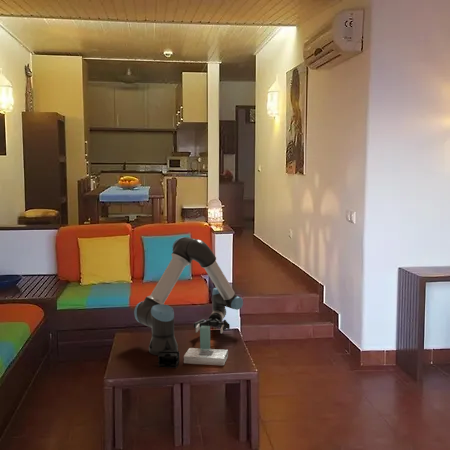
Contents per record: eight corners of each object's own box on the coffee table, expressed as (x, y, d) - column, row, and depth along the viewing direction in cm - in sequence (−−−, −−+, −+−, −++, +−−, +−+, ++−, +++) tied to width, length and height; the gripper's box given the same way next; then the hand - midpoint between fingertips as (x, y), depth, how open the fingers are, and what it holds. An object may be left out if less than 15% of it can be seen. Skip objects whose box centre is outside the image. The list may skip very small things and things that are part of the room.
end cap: (179, 362, 281) (179, 349, 280) (178, 368, 274) (177, 354, 273) (159, 362, 282) (159, 349, 281) (157, 367, 275) (157, 354, 274)
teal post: (200, 350, 297) (199, 328, 296) (202, 347, 302) (201, 325, 300) (208, 350, 297) (208, 328, 295) (210, 347, 301) (210, 326, 299)
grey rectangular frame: (183, 363, 280) (183, 356, 279) (189, 354, 292) (189, 347, 291) (223, 365, 277) (223, 358, 276) (227, 356, 288) (227, 349, 288)
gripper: (237, 325, 327) (231, 338, 306) (194, 324, 331) (186, 336, 310) (237, 313, 326) (231, 324, 305) (194, 311, 330) (186, 322, 309)
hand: (208, 330), depth 307 cm, fingers open, 13 cm apart
